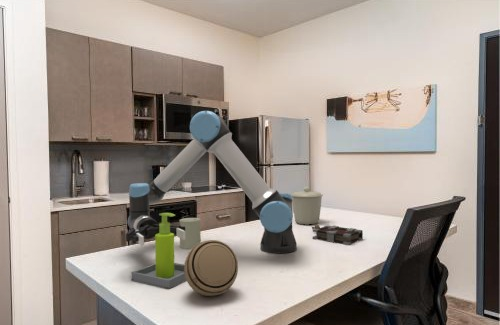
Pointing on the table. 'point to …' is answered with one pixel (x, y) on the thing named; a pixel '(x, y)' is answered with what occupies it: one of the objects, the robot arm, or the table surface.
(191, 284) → the tan ball
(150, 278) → the tray
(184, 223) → the can
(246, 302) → the table surface
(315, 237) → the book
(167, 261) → the soap dispenser
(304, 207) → the canister
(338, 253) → the table surface
